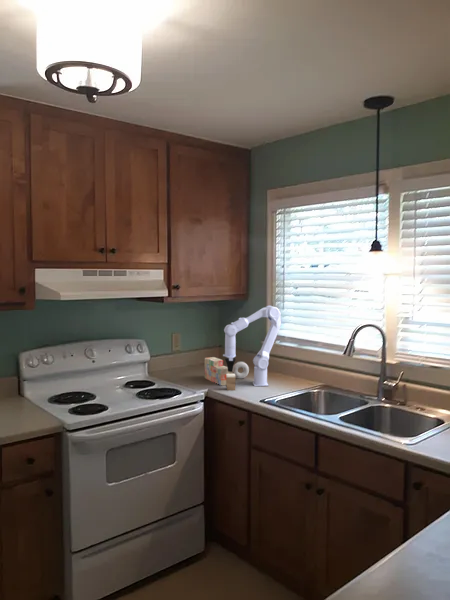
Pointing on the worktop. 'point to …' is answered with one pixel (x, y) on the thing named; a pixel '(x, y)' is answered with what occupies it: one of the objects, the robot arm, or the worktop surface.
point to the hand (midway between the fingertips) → (230, 371)
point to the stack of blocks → (215, 370)
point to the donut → (245, 369)
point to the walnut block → (230, 381)
